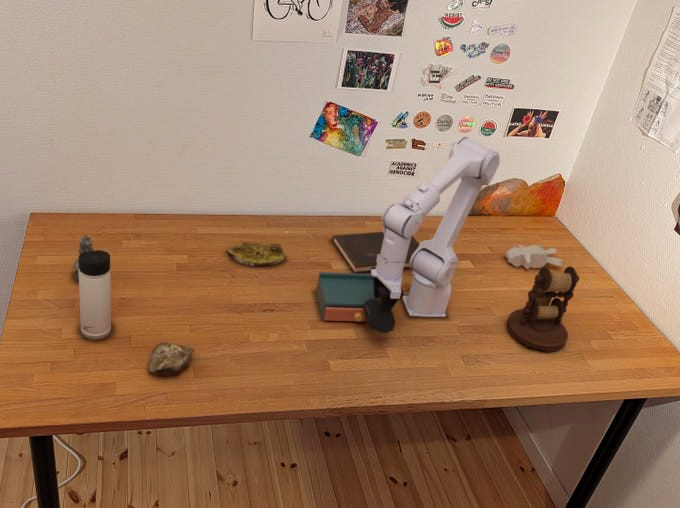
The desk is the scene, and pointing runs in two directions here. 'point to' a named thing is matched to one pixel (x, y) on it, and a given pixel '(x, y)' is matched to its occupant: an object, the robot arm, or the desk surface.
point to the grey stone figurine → (84, 246)
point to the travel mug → (95, 294)
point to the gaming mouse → (378, 316)
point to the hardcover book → (366, 250)
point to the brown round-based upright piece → (544, 310)
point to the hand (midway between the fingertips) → (381, 305)
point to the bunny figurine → (532, 256)
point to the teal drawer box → (343, 289)
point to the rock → (169, 358)
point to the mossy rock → (256, 254)
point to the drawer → (344, 313)
